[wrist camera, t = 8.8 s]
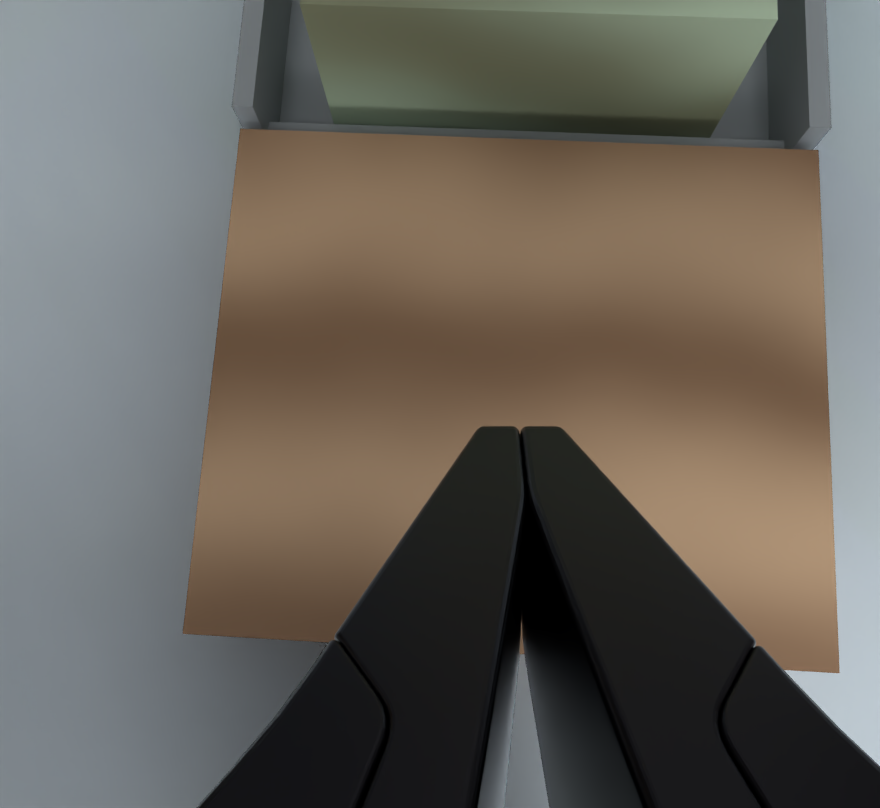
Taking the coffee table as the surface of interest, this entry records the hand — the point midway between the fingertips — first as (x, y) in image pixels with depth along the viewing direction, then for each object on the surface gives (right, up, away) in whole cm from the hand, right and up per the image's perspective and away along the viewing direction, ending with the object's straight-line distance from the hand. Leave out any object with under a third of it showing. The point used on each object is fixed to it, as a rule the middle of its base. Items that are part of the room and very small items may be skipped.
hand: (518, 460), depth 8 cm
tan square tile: (+1, +1, +13) cm, 13 cm away
